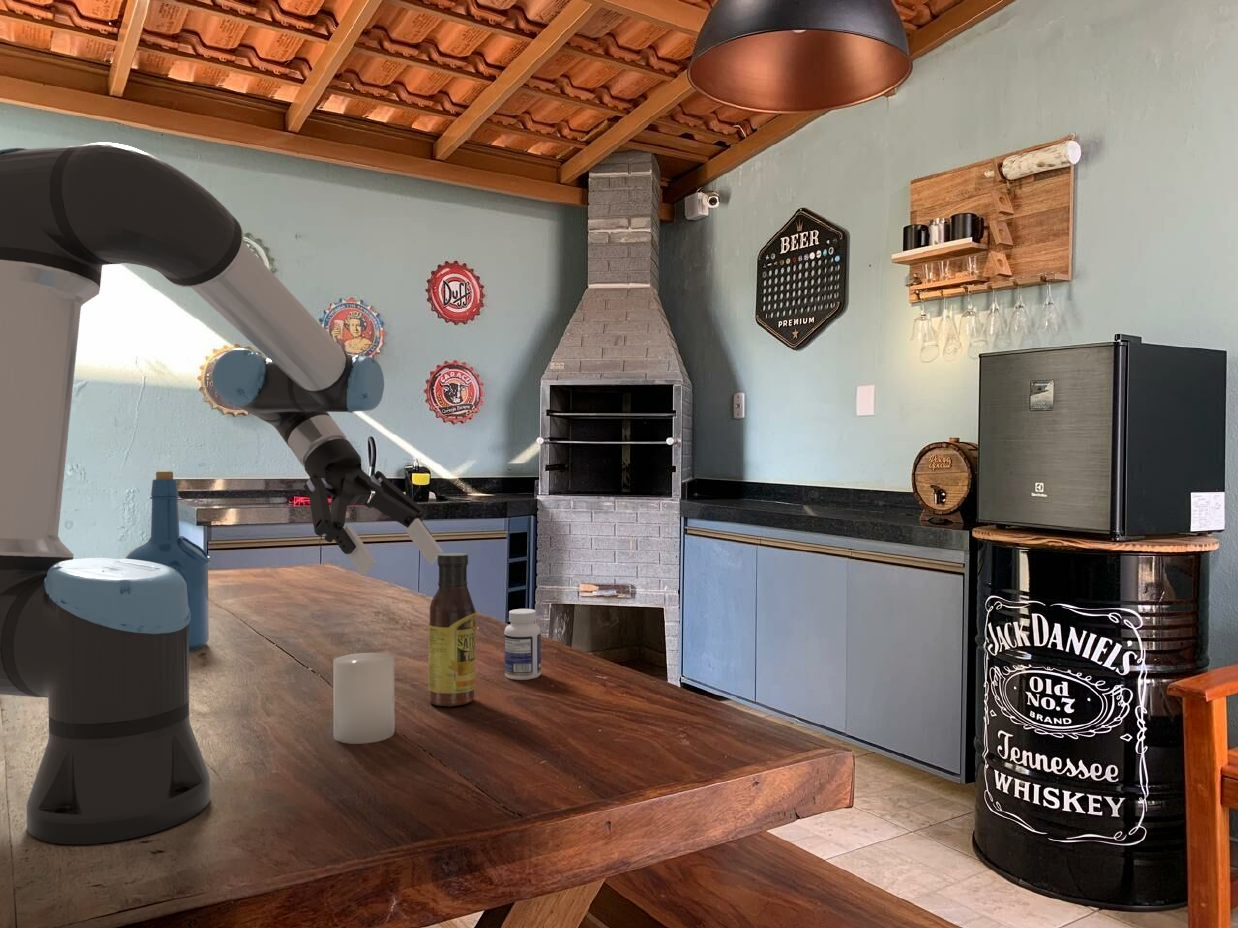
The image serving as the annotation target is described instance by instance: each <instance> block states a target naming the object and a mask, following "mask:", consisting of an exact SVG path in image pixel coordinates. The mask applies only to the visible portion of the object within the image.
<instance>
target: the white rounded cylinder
mask: <svg viewBox="0 0 1238 928" xmlns="http://www.w3.org/2000/svg"><path fill="white" fill-rule="evenodd" d="M332 668H333V669H332V670H333V671H332V673H333V677H332V678H333V679H332V680H333V681H332V683H333V685H332V686H333V689H332V691H333V692H332V693H333V694H332V698H333V699H332V700H333V703H332V704H333V705H332V706H333V707H332V708H333V716H332V717H333V719H332V720H333V740H335V741H337V742H339V743H343V744H349V745H351V744H353V745H358V744H359V745H360V744H361V745H363V744H371V743H377V742H382V741H384V740H387V739H390V738H392V736H394V735H395V656H394V655H391V654H389V653H382V652H358V653H350V654H344V655H342V656H341V655H340V656H338V657H336V658H333V660H332Z"/></svg>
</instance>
